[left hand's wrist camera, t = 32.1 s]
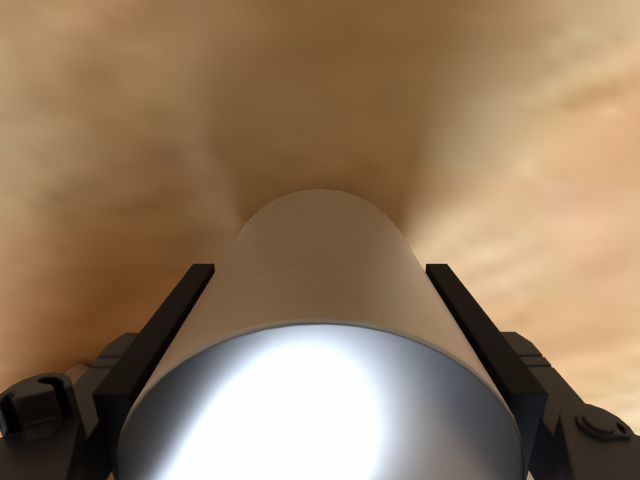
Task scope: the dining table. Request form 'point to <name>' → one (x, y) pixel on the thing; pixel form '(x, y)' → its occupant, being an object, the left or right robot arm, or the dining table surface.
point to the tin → (320, 364)
